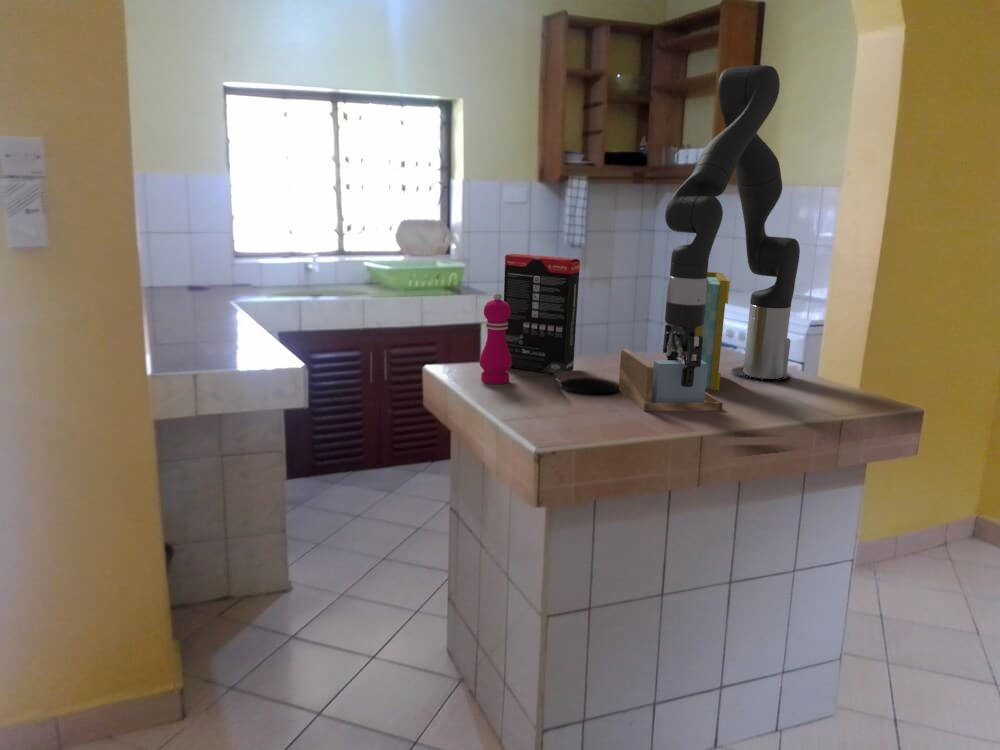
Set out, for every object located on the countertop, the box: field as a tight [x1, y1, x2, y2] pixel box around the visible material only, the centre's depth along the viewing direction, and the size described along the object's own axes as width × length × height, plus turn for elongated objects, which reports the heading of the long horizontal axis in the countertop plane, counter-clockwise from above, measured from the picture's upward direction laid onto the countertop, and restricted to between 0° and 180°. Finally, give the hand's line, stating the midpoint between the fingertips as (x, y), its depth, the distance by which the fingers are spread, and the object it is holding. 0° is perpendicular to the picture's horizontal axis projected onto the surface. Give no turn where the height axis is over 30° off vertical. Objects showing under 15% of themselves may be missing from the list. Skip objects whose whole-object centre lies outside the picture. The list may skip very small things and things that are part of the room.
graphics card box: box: [503, 253, 581, 375], centre depth 191 cm, size 17×7×27 cm, turn 65°
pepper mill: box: [479, 292, 512, 385], centre depth 180 cm, size 7×7×20 cm
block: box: [651, 359, 708, 403], centre depth 161 cm, size 10×3×9 cm, turn 99°
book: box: [695, 271, 731, 391], centre depth 182 cm, size 17×7×25 cm, turn 168°
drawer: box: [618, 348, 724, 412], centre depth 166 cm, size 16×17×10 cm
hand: (678, 381), depth 161 cm, fingers open, 8 cm apart
